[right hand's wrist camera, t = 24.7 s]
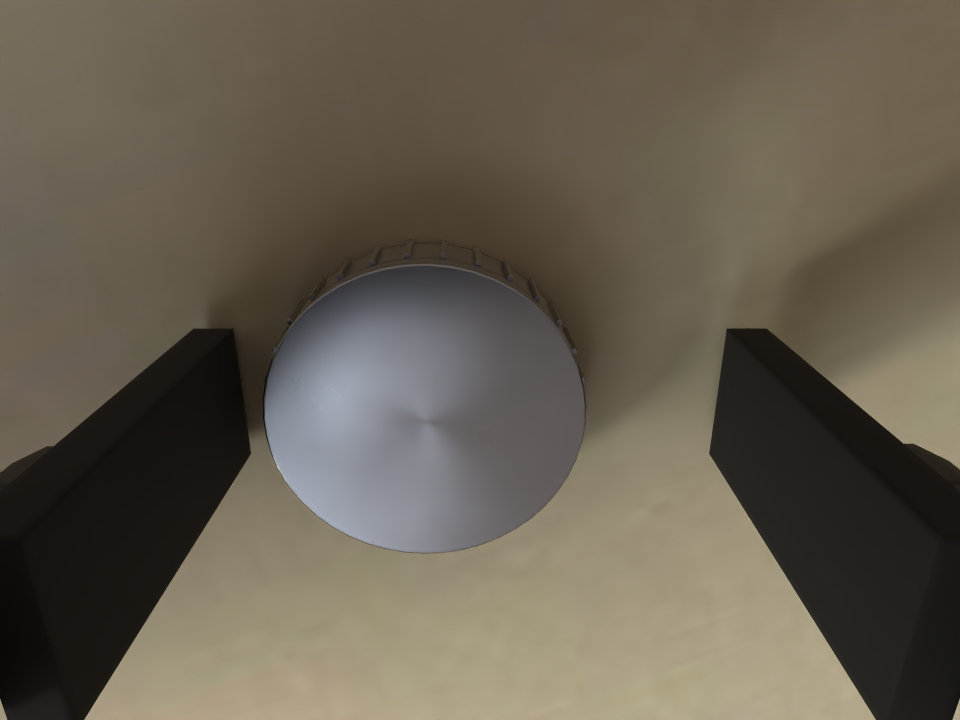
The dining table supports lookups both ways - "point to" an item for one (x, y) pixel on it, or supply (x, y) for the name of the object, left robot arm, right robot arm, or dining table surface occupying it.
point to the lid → (425, 399)
